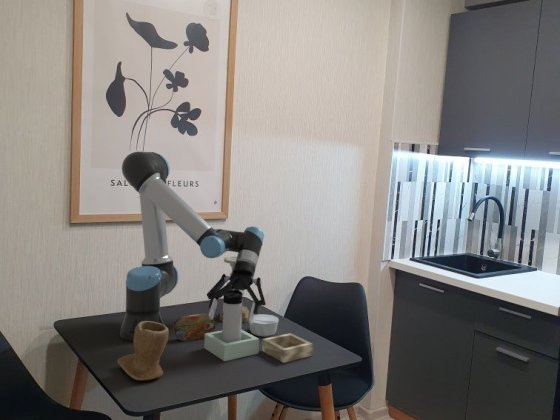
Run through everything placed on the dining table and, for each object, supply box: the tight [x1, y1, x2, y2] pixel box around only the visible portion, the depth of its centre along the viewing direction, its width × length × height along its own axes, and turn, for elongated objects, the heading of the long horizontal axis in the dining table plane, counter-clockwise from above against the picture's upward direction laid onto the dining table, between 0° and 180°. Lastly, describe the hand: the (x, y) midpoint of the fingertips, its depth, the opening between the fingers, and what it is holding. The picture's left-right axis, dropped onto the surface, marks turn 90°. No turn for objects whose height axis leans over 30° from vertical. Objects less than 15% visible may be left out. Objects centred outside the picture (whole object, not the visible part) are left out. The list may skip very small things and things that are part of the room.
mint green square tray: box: [203, 328, 260, 362], centre depth 171 cm, size 13×13×5 cm
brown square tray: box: [261, 332, 314, 363], centre depth 172 cm, size 12×12×4 cm
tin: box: [172, 313, 216, 342], centre depth 182 cm, size 15×3×8 cm, turn 117°
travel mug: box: [221, 290, 243, 344], centre depth 171 cm, size 6×7×20 cm
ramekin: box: [248, 313, 280, 337], centre depth 191 cm, size 11×11×5 cm
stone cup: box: [117, 321, 170, 381], centre depth 151 cm, size 15×12×15 cm
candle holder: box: [218, 256, 250, 323], centre depth 206 cm, size 11×11×24 cm
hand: (230, 320), depth 168 cm, fingers open, 13 cm apart
